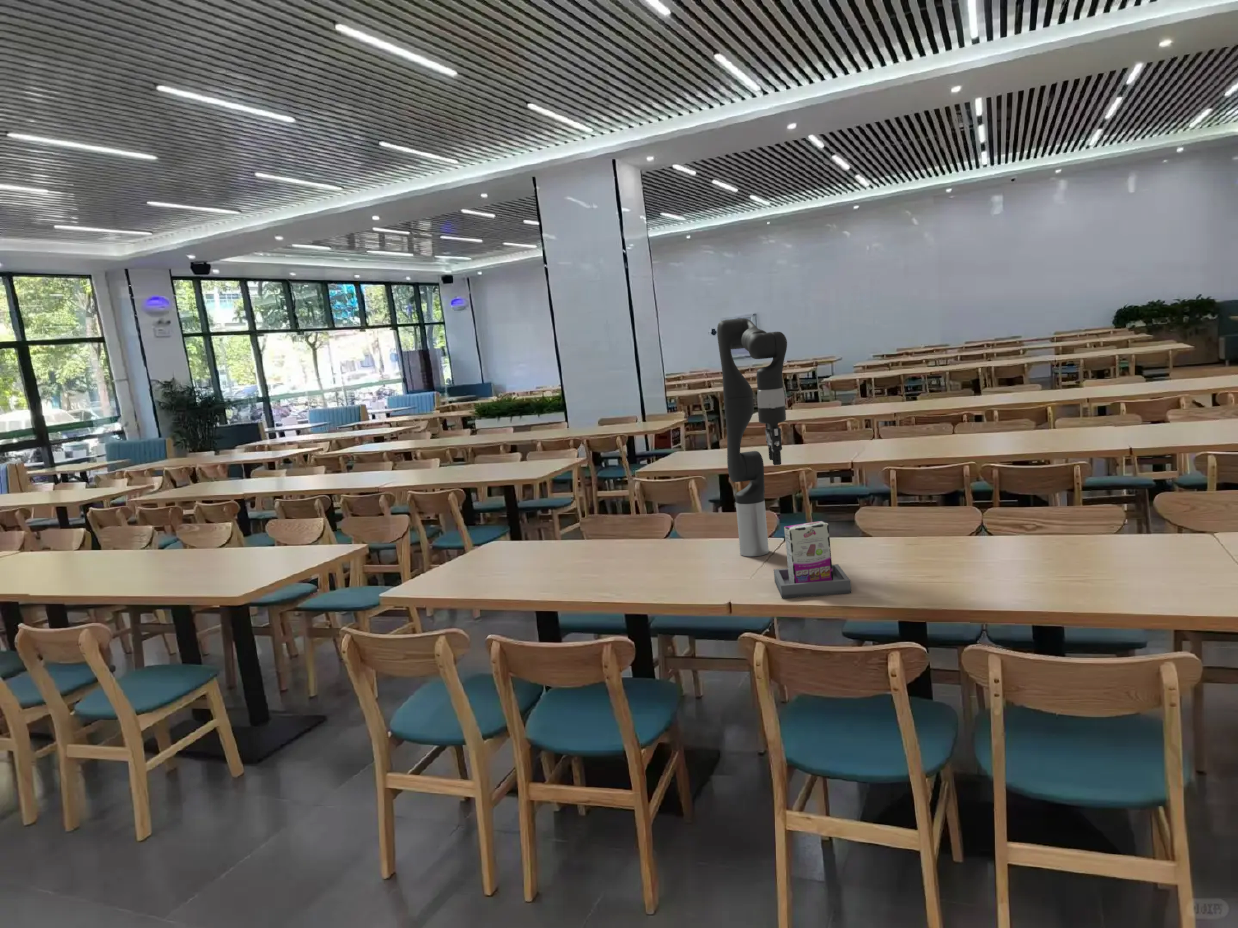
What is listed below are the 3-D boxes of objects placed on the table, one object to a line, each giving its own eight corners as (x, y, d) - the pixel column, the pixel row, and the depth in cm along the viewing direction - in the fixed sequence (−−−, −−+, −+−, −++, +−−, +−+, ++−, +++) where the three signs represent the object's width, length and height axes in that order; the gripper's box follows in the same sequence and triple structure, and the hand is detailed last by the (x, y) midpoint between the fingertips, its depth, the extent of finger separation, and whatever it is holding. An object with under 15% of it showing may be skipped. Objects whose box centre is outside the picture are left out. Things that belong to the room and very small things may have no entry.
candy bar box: (826, 578, 221) (822, 520, 219) (833, 582, 216) (829, 523, 214) (787, 583, 219) (783, 525, 217) (794, 588, 214) (790, 529, 212)
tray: (774, 581, 226) (773, 569, 226) (839, 576, 225) (838, 564, 224) (781, 598, 210) (780, 585, 210) (851, 593, 209) (850, 580, 208)
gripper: (755, 403, 229) (758, 459, 231) (760, 408, 215) (764, 467, 217) (781, 401, 228) (785, 457, 231) (788, 406, 214) (792, 465, 217)
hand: (775, 462), depth 224 cm, fingers open, 8 cm apart
